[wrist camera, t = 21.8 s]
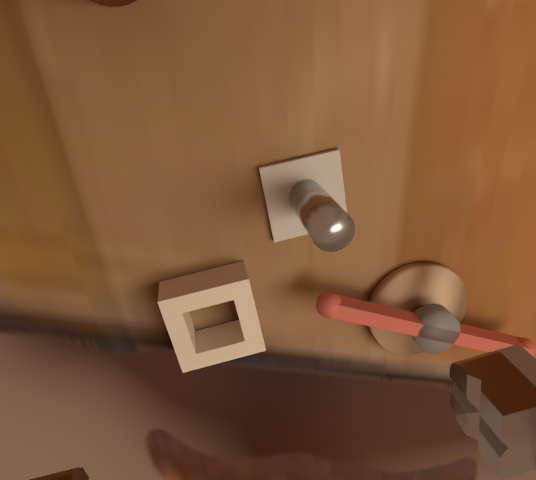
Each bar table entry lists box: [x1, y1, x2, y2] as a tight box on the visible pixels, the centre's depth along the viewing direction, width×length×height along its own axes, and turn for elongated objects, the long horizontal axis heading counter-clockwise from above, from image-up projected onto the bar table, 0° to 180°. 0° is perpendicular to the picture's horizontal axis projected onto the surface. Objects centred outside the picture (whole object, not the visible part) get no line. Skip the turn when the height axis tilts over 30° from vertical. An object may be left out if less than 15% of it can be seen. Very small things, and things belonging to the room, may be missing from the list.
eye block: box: [157, 261, 266, 373], centre depth 46 cm, size 9×9×4 cm
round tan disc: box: [368, 261, 468, 354], centre depth 51 cm, size 12×12×3 cm
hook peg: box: [289, 180, 355, 252], centre depth 40 cm, size 4×4×9 cm
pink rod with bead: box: [316, 292, 536, 357], centre depth 48 cm, size 5×29×3 cm, turn 71°
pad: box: [258, 149, 347, 242], centre depth 44 cm, size 8×8×1 cm
